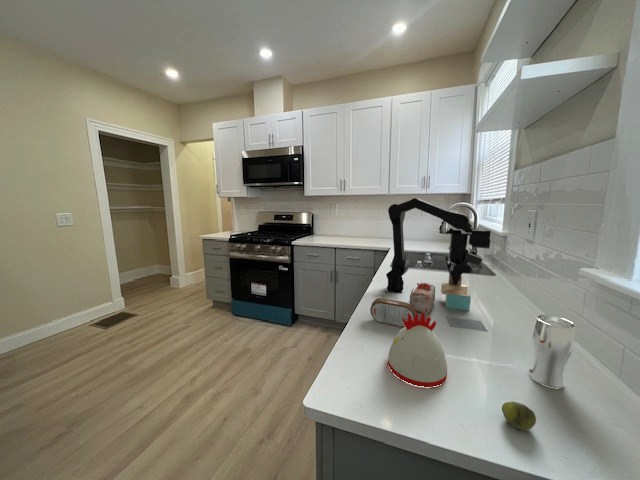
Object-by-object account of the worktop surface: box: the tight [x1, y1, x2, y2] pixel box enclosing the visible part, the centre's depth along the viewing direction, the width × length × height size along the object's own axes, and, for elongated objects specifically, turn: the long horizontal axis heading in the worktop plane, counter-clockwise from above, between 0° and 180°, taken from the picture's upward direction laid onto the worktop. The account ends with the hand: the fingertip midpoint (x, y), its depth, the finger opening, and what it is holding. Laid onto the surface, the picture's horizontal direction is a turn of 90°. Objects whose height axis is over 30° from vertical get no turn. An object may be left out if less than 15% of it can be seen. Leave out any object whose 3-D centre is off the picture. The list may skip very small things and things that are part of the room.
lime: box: [501, 401, 537, 431], centre depth 46 cm, size 4×5×5 cm
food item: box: [408, 282, 436, 315], centre depth 96 cm, size 14×8×10 cm, turn 148°
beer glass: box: [528, 314, 577, 389], centre depth 57 cm, size 7×7×15 cm
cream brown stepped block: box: [440, 274, 469, 295], centre depth 101 cm, size 9×2×8 cm, turn 74°
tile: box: [444, 292, 472, 311], centre depth 95 cm, size 8×2×6 cm, turn 74°
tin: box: [369, 297, 417, 328], centre depth 84 cm, size 15×3×8 cm, turn 65°
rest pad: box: [445, 316, 489, 332], centre depth 84 cm, size 11×7×1 cm, turn 74°
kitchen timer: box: [387, 311, 448, 387], centre depth 62 cm, size 14×14×15 cm
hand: (454, 283), depth 101 cm, fingers closed on cream brown stepped block, 2 cm apart
